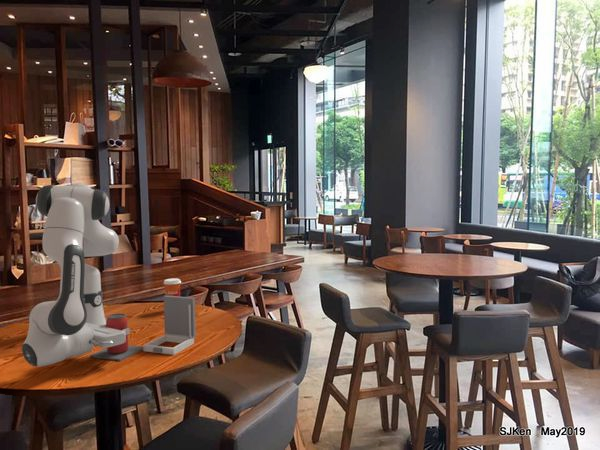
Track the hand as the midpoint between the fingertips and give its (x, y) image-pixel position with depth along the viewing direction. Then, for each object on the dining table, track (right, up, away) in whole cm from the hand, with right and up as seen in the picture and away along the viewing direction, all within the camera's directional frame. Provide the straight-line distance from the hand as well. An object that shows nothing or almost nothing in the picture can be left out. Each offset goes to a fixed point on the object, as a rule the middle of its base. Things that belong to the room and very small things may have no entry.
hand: (119, 328), depth 156 cm
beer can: (0, -8, 0) cm, 8 cm away
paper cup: (+3, -4, +55) cm, 55 cm away
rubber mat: (0, -8, 0) cm, 8 cm away
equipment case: (+15, -8, +5) cm, 18 cm away
